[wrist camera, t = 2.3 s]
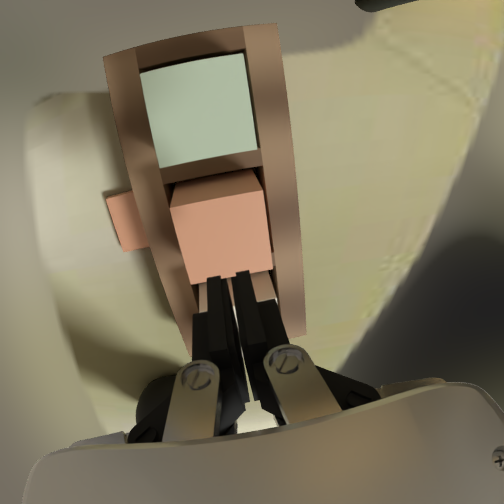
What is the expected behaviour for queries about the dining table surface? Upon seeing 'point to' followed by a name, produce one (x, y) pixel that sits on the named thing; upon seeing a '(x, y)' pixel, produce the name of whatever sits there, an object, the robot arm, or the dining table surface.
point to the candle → (379, 4)
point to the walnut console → (214, 161)
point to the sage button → (199, 109)
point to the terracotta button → (221, 225)
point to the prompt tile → (127, 221)
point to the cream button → (260, 285)
